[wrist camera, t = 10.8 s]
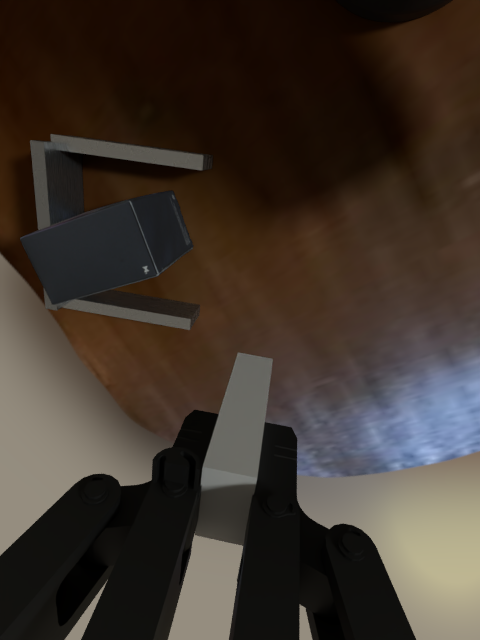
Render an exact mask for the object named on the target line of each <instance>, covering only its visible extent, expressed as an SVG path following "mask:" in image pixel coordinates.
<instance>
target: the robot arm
mask: <svg viewBox="0 0 480 640" xmlns="http://www.w3.org/2000/svg"><path fill="white" fill-rule="evenodd" d="M336 1H337V2H338V3H339V4H341V5H342V6H343V7H345V8H346V9H347V10H349V11H351V12H352V13H354V14H356V15H358V16H361V17H363V18H366V19H370V20H374V21H380V22H401V21H408V20H412V19H416V18H419V17H422V16H425V15H428V14H430V13H432V12H434V11H436V10H438V9H440V8H442V7H443V6H445V5H447V4H448V3H450V2H451V1H453V0H336ZM272 363H273V359H271V358H265V357H260V356H254V355H249V354H243V353H238V355H237V358H236V361H235V364H234V367H233V371H232V374H231V377H230V380H229V383H228V387H227V390H226V393H225V396H224V400H223V403H222V406H221V409H220V412H219V414H215V413H210V412H204V411H199V410H194V411H193V412H191V413H190V414H189V415H188V416H187V417H185V420H184V422H183V424H182V427H181V430H180V431H179V433H178V436H177V438H176V440H175V443H174V445H173V447H172V448H168V449H164V450H162V451H161V452H159V453H158V454H157V455H156V456H155V457H154V459H153V466H152V480H151V481H149V482H147V483H144V484H140V485H131V486H120V484H119V482H118V480H116V479H115V478H114V477H112V476H110V475H106V474H93V475H90V476H88V477H84V478H83V479H81V480H80V481H78V482H77V483H76V484H74V486H72V487H71V488H70V490H69V491H67V492H66V493H65V494H64V495H63V496H62V497H61V498H60V499H59V500H58V501H57V502H56V503H55V504H54V505H53V506H52V507H51V508H49V509H48V510H47V511H46V512H45V513H44V514H43V515H42V516H41V517H40V518H39V519H38V520H37V521H36V522H35V523H34V524H33V525H32V526H31V527H30V528H29V529H28V530H27V531H26V532H25V533H24V534H22V535H21V536H20V537H19V538H18V539H17V540H16V541H15V542H14V543H13V544H12V545H11V546H10V547H9V548H8V549H7V550H6V551H5V552H4V553H3V554H2V555H1V556H0V640H64V639H65V638H66V637H67V635H68V634H69V633H70V631H71V630H72V628H73V627H74V626H75V624H76V623H77V621H78V620H79V619H80V617H81V616H82V614H83V613H84V611H85V610H86V609H87V607H88V606H89V605H90V603H91V602H92V601H93V599H94V598H95V596H96V595H97V594H98V592H99V591H100V589H101V588H102V587H103V585H104V584H105V583H106V581H107V580H108V581H107V583H106V585H105V588H104V590H103V592H102V594H101V597H100V599H99V601H98V603H97V605H96V608H95V610H94V612H93V614H92V617H91V619H90V621H89V623H88V626H87V628H86V630H85V632H84V635H83V637H82V639H81V640H168V636H169V633H170V629H171V625H172V621H173V618H174V614H175V610H176V607H177V603H178V599H179V595H180V592H181V588H182V585H183V581H184V577H185V573H186V570H187V566H188V562H189V559H190V555H191V548H192V541H193V537H194V533H195V535H197V536H202V537H207V538H211V539H216V540H220V541H224V542H229V543H234V544H238V545H242V546H243V553H242V558H241V563H240V568H239V574H238V579H237V589H236V596H235V603H234V610H233V616H232V623H231V629H230V636H229V640H299V604H301V605H302V606H304V607H305V608H306V612H307V616H308V621H309V625H310V630H311V634H312V639H313V640H416V638H415V636H414V634H413V631H412V629H411V627H410V624H409V622H408V620H407V618H406V615H405V613H404V610H403V608H402V606H401V604H400V601H399V599H398V597H397V594H396V592H395V590H394V587H393V585H392V583H391V580H390V578H389V576H388V573H387V571H386V569H385V566H384V564H383V562H382V560H381V557H380V555H379V553H378V550H377V548H376V546H375V544H374V543H373V541H372V540H371V538H370V537H369V536H368V535H367V534H366V533H364V532H363V531H362V530H361V529H359V528H357V527H355V526H352V525H347V524H339V525H334V526H333V527H332V528H331V529H328V528H326V527H324V526H322V525H320V524H318V523H316V522H315V521H313V520H312V519H310V518H309V517H308V516H307V515H306V514H305V513H304V512H303V511H302V509H301V508H300V506H299V504H298V501H297V437H296V435H295V433H294V431H293V429H292V428H291V427H287V426H281V425H276V424H271V423H266V422H265V416H266V408H267V401H268V393H269V385H270V378H271V370H272ZM108 578H109V579H108Z"/></svg>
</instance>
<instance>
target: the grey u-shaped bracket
mask: <svg viewBox="0 0 480 640" xmlns="http://www.w3.org/2000/svg"><path fill="white" fill-rule="evenodd" d="M30 145H31V155H32V166H33V177H34V188H35V199H36V210H37V221H38V230H40V229H43V228H45V227H48V226H51V225H53V224H56V223H59V222H61V221H64V220H67V219H70V218H72V217H75V216H78V215H80V214H83V213H84V199H83V175H82V154H89V155H96V156H103V157H110V158H117V159H124V160H131V161H139V162H146V163H153V164H160V165H167V166H174V167H181V168H188V169H195V170H208V169H212V162H213V155H208V154H201V153H194V152H187V151H179V150H172V149H165V148H158V147H150V146H143V145H136V144H129V143H121V142H114V141H107V140H100V139H92V138H85V137H78V136H67V135H55V134H51V141H38V140H30ZM44 298H45V308H46V309H52V310H58V309H60V308H61V307H63V308H68V309H74V310H79V311H85V312H91V313H96V314H102V315H108V316H113V317H119V318H125V319H131V320H136V321H142V322H148V323H153V324H159V325H165V326H170V327H176V328H182V329H188V330H190V329H191V327H192V326H193V324H194V322H195V321H196V319H197V318H198V316H199V312H200V305H197V304H192V303H186V302H180V301H174V300H168V299H162V298H156V297H150V296H144V295H139V294H133V293H127V292H121V291H115V290H107V291H103V292H100V293H96V294H92V295H89V296H85V297H81V298H78V299H74V300H71V301H67V302H63V303H60V304H56V305H52V303H51V301H50V299H49V297H48V295H47V293H46V291H45V289H44Z"/></svg>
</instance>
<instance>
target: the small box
mask: <svg viewBox="0 0 480 640" xmlns="http://www.w3.org/2000/svg"><path fill="white" fill-rule="evenodd" d="M20 240H21V242H22V245H23V247H24V249H25V251H26V253H27V255H28V257H29V259H30V261H31V263H32V265H33V267H34V269H35V271H36V273H37V275H38V277H39V279H40V281H41V283H42V285H43V287H44V289H45V291H46V293H47V295H48V297H49V299H50V301H51V303H52V305H56V304H60V303H63V302H67V301H71V300H74V299H78V298H81V297H85V296H89V295H92V294H96V293H100V292H103V291H107V290H110V289H114V288H117V287H121V286H125V285H128V284H132V283H135V282H139V281H142V280H145V279H149V278H153V277H157V276H158V275H159V274H161V273H162V272H163V271H164V270H166V269H167V268H168V267H169V266H171V265H172V264H173V263H175V262H176V260H178V259H179V258H180V257H182V256H183V255H184V254H186V253H187V252H189V251H190V250H192V249H193V245H192V241H191V239H190V237H189V233H188V231H187V229H186V225H185V223H184V220H183V216H182V214H181V211H180V206H179V204H178V201H177V199H176V197H175V195H174V192H173V191H166V192H160V193H155V194H150V195H145V196H141V197H137V198H133V199H129V200H125V201H121V202H118V203H114V204H111V205H108V206H104V207H101V208H98V209H95V210H92V211H88V212H86V213H83V214H80V215H78V216H75V217H72V218H70V219H67V220H64V221H61V222H59V223H56V224H53V225H51V226H48V227H45V228H43V229H40V230H38V231H35V232H33V233H30V234H28V235H26V236H23V237H21V238H20Z"/></svg>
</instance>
